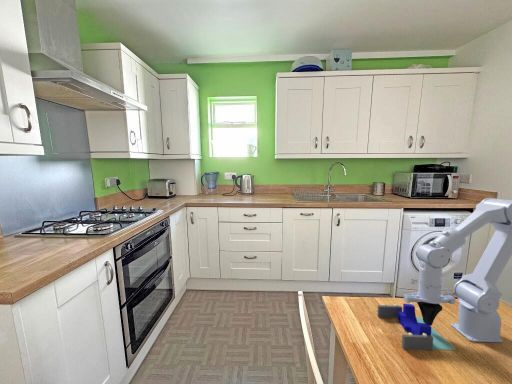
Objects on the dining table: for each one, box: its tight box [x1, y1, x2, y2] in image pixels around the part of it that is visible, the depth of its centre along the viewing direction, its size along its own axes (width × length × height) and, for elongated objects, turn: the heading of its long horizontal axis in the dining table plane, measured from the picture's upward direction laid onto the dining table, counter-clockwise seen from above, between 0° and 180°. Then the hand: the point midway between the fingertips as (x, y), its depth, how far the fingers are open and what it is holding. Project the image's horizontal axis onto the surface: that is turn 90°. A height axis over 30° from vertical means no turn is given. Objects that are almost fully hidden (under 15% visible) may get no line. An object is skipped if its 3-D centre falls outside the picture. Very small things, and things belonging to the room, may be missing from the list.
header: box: [376, 303, 434, 352], centre depth 73 cm, size 8×16×5 cm, turn 177°
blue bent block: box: [397, 303, 432, 335], centre depth 73 cm, size 12×4×6 cm, turn 167°
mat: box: [416, 316, 457, 351], centre depth 73 cm, size 8×15×1 cm, turn 177°
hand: (427, 323), depth 73 cm, fingers closed
